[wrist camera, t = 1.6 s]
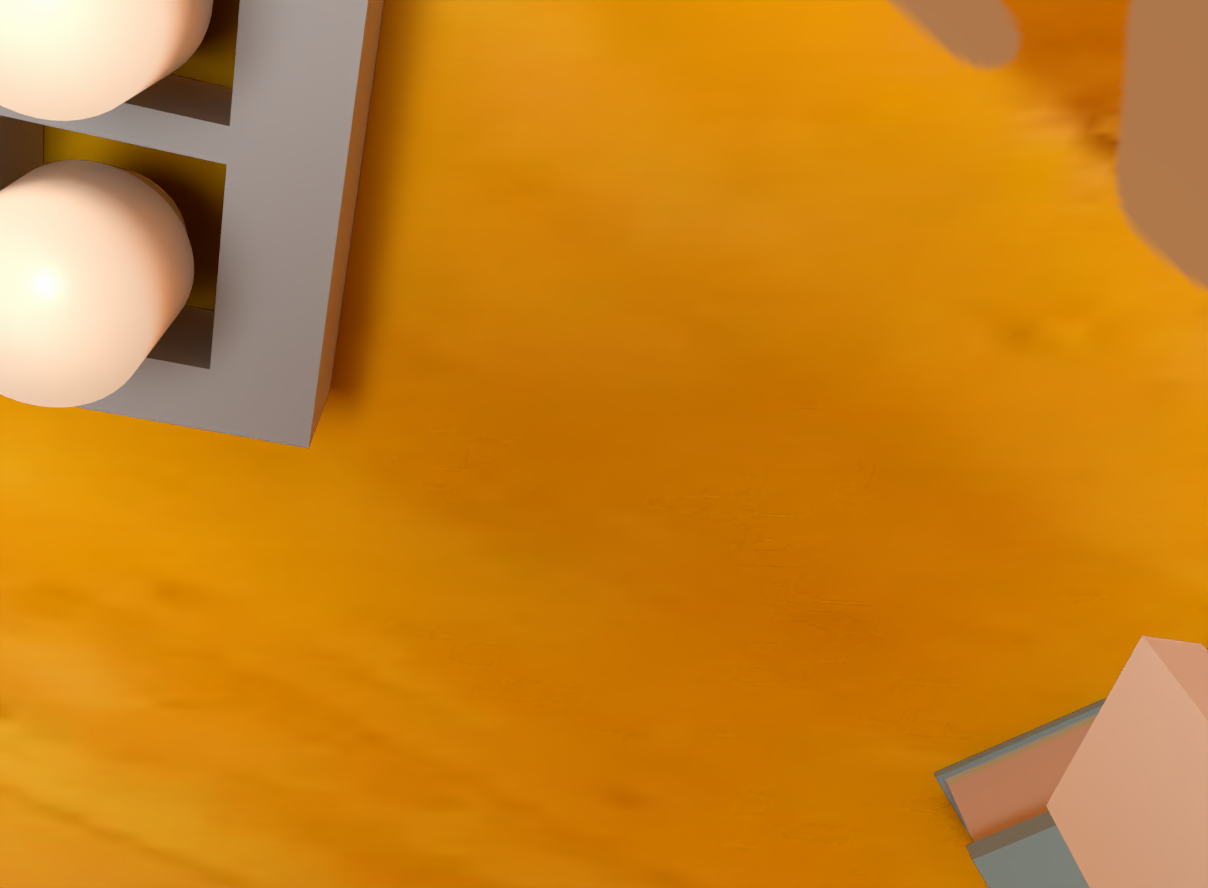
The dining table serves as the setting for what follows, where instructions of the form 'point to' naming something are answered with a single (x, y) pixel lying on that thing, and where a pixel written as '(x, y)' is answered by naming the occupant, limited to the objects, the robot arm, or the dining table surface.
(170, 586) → the dining table surface
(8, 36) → the button mid
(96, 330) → the button
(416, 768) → the dining table surface
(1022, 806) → the book
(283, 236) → the gray compartment tray
